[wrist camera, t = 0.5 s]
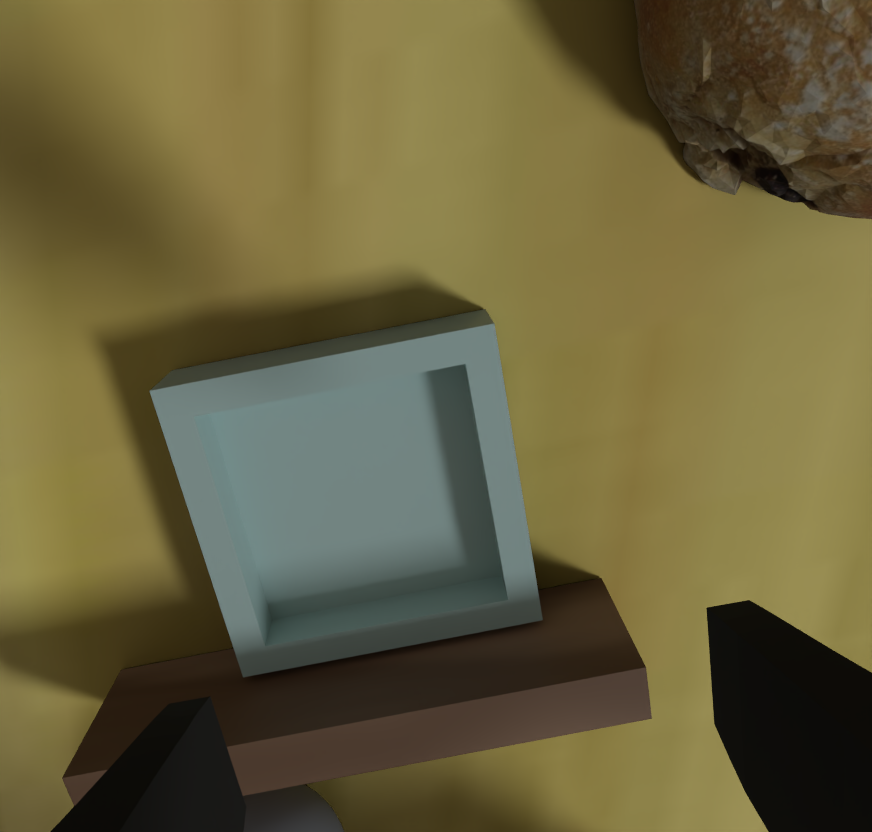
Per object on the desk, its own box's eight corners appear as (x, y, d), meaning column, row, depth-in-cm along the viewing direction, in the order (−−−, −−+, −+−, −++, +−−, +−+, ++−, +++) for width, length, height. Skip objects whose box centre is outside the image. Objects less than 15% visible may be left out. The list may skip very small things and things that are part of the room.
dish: (531, 583, 21) (542, 619, 19) (255, 636, 21) (243, 677, 20) (485, 309, 19) (494, 323, 17) (171, 370, 19) (149, 390, 17)
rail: (607, 622, 22) (651, 718, 18) (137, 711, 22) (83, 826, 18) (601, 577, 21) (646, 667, 17) (121, 670, 21) (62, 777, 18)
